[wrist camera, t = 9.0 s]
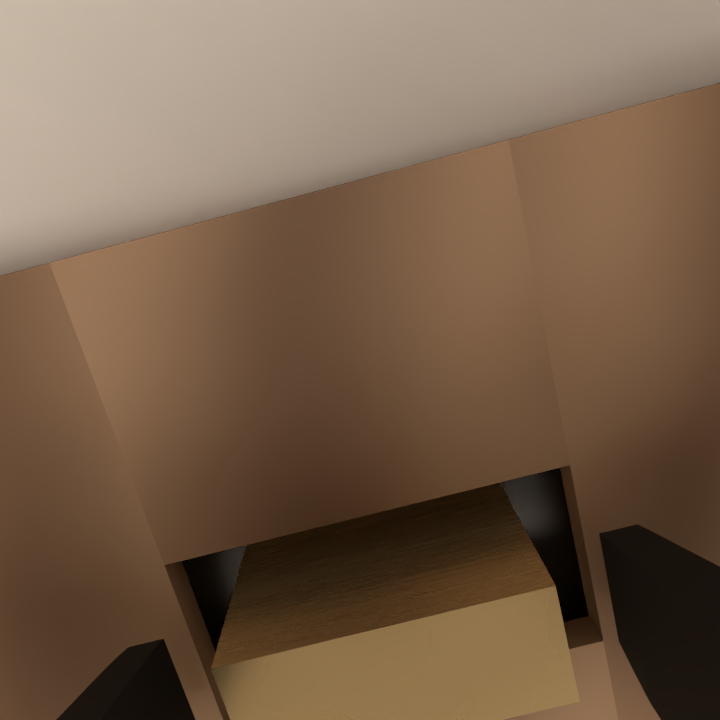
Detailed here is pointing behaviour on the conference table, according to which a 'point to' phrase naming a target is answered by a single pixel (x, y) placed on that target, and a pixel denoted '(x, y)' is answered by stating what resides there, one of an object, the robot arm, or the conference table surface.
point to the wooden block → (397, 619)
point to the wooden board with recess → (364, 386)
